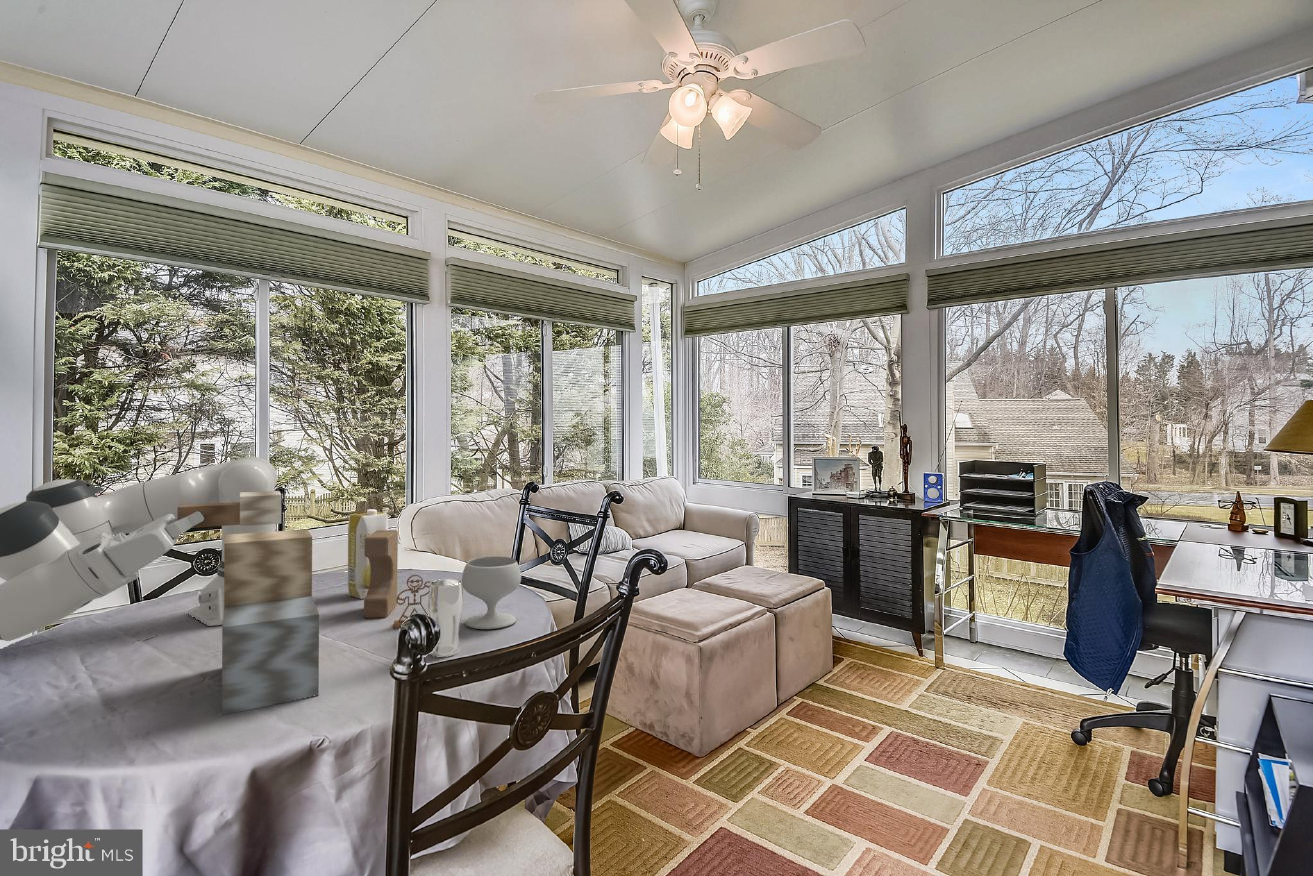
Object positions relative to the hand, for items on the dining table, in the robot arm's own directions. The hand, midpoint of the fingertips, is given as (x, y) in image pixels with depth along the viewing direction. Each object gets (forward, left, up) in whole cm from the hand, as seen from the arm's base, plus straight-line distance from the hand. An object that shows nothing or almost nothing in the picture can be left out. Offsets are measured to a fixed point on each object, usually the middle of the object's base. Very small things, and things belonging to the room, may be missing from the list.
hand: (203, 512), depth 105 cm
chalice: (+13, +58, -33) cm, 67 cm away
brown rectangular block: (+2, +4, -2) cm, 5 cm away
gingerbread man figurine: (-2, +48, -33) cm, 58 cm away
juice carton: (-33, +60, -33) cm, 76 cm away
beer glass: (+18, +38, -33) cm, 53 cm away
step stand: (0, +11, -33) cm, 35 cm away
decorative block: (-17, +51, -33) cm, 63 cm away
